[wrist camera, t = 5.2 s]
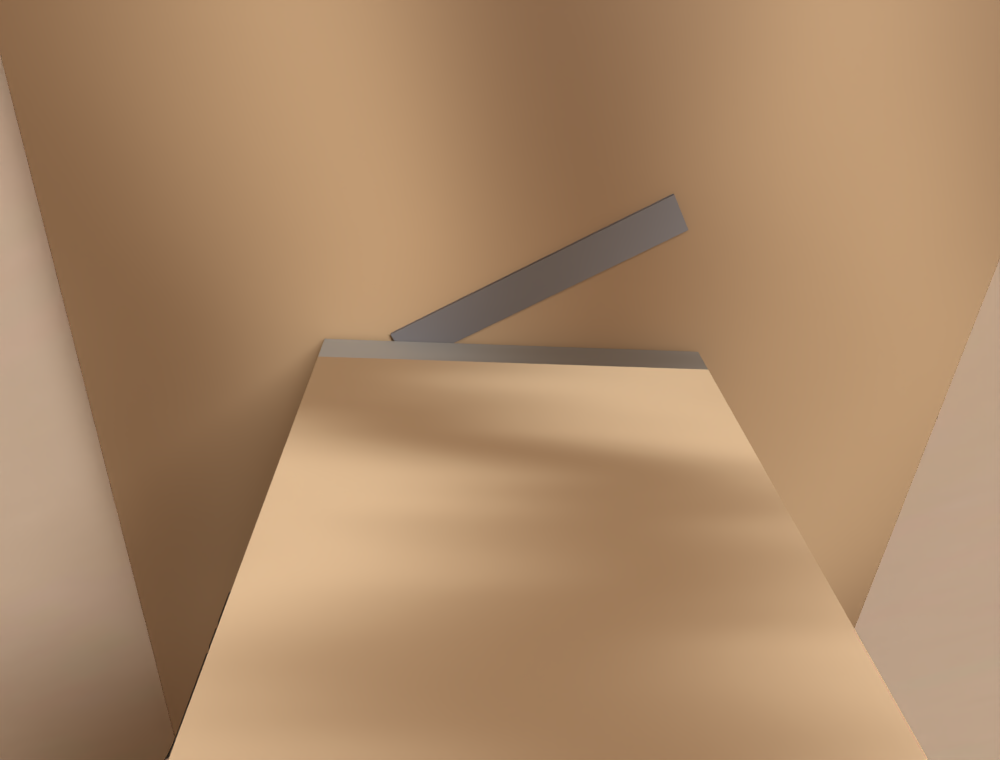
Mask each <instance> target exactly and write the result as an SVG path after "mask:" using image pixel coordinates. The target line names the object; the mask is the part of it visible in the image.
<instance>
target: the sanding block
mask: <svg viewBox="0 0 1000 760" xmlns="http://www.w3.org/2000/svg"><path fill="white" fill-rule="evenodd" d="M169 760H928V759H927V757H926V755H925V753H924V752H923V750H922V748H921V746H920V744H919V743H918V741H917V739H916V737H915V736H914V734H913V732H912V730H911V728H910V727H909V725H908V723H907V721H906V720H905V718H904V716H903V714H902V713H901V711H900V709H899V707H898V705H897V704H896V702H895V700H894V698H893V697H892V695H891V693H890V691H889V689H888V688H887V686H886V684H885V682H884V681H883V679H882V677H881V675H880V673H879V672H878V670H877V668H876V666H875V665H874V663H873V661H872V659H871V658H870V656H869V654H868V652H867V650H866V649H865V647H864V645H863V643H862V642H861V640H860V638H859V636H858V634H857V633H856V631H855V629H854V627H853V626H852V624H851V622H850V620H849V618H848V617H847V615H846V613H845V611H844V610H843V608H842V606H841V604H840V603H839V601H838V599H837V597H836V595H835V594H834V592H833V590H832V588H831V587H830V585H829V583H828V581H827V579H826V578H825V576H824V574H823V572H822V571H821V569H820V567H819V565H818V563H817V562H816V560H815V558H814V556H813V555H812V553H811V551H810V549H809V548H808V546H807V544H806V542H805V540H804V539H803V537H802V535H801V533H800V532H799V530H798V528H797V526H796V524H795V523H794V521H793V519H792V517H791V516H790V514H789V512H788V510H787V508H786V507H785V505H784V503H783V501H782V500H781V498H780V496H779V494H778V493H777V491H776V489H775V487H774V485H773V484H772V482H771V480H770V478H769V477H768V475H767V473H766V471H765V469H764V468H763V466H762V464H761V462H760V461H759V459H758V457H757V455H756V453H755V452H754V450H753V448H752V446H751V445H750V443H749V441H748V439H747V438H746V436H745V434H744V432H743V430H742V429H741V427H740V425H739V423H738V422H737V420H736V418H735V416H734V414H733V413H732V411H731V409H730V407H729V406H728V404H727V402H726V400H725V398H724V397H723V395H722V393H721V391H720V390H719V388H718V386H717V384H716V383H715V381H714V379H713V377H712V375H711V374H710V372H709V370H708V368H707V367H706V365H705V363H704V361H703V359H702V358H701V356H700V354H699V352H691V351H662V350H633V349H605V348H576V347H547V346H519V345H490V344H462V343H433V342H404V341H376V340H347V339H324V342H323V345H322V347H321V350H320V353H319V355H318V358H317V361H316V363H315V366H314V369H313V372H312V374H311V377H310V380H309V382H308V385H307V388H306V390H305V393H304V396H303V398H302V401H301V404H300V407H299V409H298V412H297V415H296V417H295V420H294V423H293V425H292V428H291V431H290V434H289V436H288V439H287V442H286V444H285V447H284V450H283V452H282V455H281V458H280V460H279V463H278V466H277V469H276V471H275V474H274V477H273V479H272V482H271V485H270V487H269V490H268V493H267V496H266V498H265V501H264V504H263V506H262V509H261V512H260V514H259V517H258V520H257V522H256V525H255V528H254V531H253V533H252V536H251V539H250V541H249V544H248V547H247V549H246V552H245V555H244V557H243V560H242V563H241V566H240V568H239V571H238V574H237V576H236V579H235V582H234V584H233V587H232V590H231V593H230V595H229V598H228V601H227V603H226V606H225V609H224V611H223V614H222V617H221V619H220V622H219V625H218V628H217V630H216V633H215V636H214V638H213V641H212V644H211V646H210V649H209V652H208V655H207V657H206V660H205V663H204V665H203V668H202V671H201V673H200V676H199V679H198V681H197V684H196V687H195V690H194V692H193V695H192V698H191V700H190V703H189V706H188V708H187V711H186V714H185V717H184V719H183V722H182V725H181V727H180V730H179V733H178V735H177V738H176V741H175V743H174V746H173V749H172V752H171V754H170V757H169Z"/></svg>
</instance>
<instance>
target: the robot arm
mask: <svg viewBox="0 0 1000 760" xmlns="http://www.w3.org/2000/svg"><path fill="white" fill-rule="evenodd" d="M230 593H231V591H230V592H229V593H228V596H227V599H226V601H225V604H224V607H223V609H222V612H221V615H220V618H219V620H218V625H219V622H220V619H221V617H222V614H223V611H224V609H225V606H226V603H227V601H228V598H229V595H230ZM217 628H218V627H217ZM217 628H215V631H214V634H213V636H212V639H211V642H210V645H209V649H210V646H211V644H212V641H213V638H214V636H215V633H216V630H217ZM208 652H209V651H208ZM207 655H208V653H206V655H205V658H204V661H203V664H202V666H201V669H200V672H199V674H198V677H197V680H196V682H195V685H194V688H193V691H192V693H191V696H190V699H189V701H188V704H187V707H186V710H185V712H184V715H183V718H182V720H181V723H180V726H179V728H178V731H177V734H176V737H175V739H174V742H173V744H172V747H171V749H170V751H169V753H168V755H167V757H166V758H165V760H169V757H170V754H171V752H172V749H173V746H174V743H175V741H176V738H177V735H178V733H179V730H180V727H181V725H182V722H183V719H184V717H185V714H186V711H187V708H188V706H189V703H190V700H191V698H192V695H193V692H194V690H195V687H196V684H197V681H198V679H199V676H200V673H201V671H202V668H203V665H204V663H205V660H206V657H207Z"/></svg>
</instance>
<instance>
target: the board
mask: <svg viewBox="0 0 1000 760" xmlns="http://www.w3.org/2000/svg"><path fill="white" fill-rule="evenodd" d="M0 55H1V59H2V63H3V66H4V70H5V74H6V78H7V82H8V86H9V90H10V94H11V98H12V102H13V106H14V110H15V113H16V117H17V121H18V125H19V129H20V133H21V137H22V141H23V145H24V149H25V153H26V157H27V160H28V164H29V168H30V172H31V176H32V180H33V184H34V188H35V192H36V196H37V200H38V204H39V207H40V211H41V215H42V219H43V223H44V227H45V231H46V235H47V239H48V243H49V247H50V250H51V254H52V258H53V262H54V266H55V270H56V274H57V278H58V282H59V286H60V290H61V294H62V297H63V301H64V305H65V309H66V313H67V317H68V321H69V325H70V329H71V333H72V337H73V341H74V344H75V348H76V352H77V356H78V360H79V364H80V368H81V372H82V376H83V380H84V384H85V387H86V391H87V395H88V399H89V403H90V407H91V411H92V415H93V419H94V423H95V427H96V431H97V434H98V438H99V442H100V446H101V450H102V454H103V458H104V462H105V466H106V470H107V474H108V478H109V481H110V485H111V489H112V493H113V497H114V501H115V505H116V509H117V513H118V517H119V521H120V524H121V528H122V532H123V536H124V540H125V544H126V548H127V552H128V556H129V560H130V564H131V568H132V571H133V575H134V579H135V583H136V587H137V591H138V595H139V599H140V603H141V607H142V611H143V615H144V618H145V622H146V626H147V630H148V634H149V638H150V642H151V646H152V650H153V654H154V658H155V661H156V665H157V669H158V673H159V677H160V681H161V685H162V689H163V693H164V697H165V701H166V705H167V708H168V712H169V716H170V720H171V724H172V728H173V732H174V736H175V737H176V734H177V731H178V728H179V726H180V723H181V720H182V718H183V715H184V712H185V710H186V707H187V704H188V701H189V699H190V696H191V693H192V691H193V688H194V685H195V682H196V680H197V677H198V674H199V672H200V669H201V666H202V664H203V661H204V658H205V655H206V653H208V651H209V645H210V642H211V639H212V636H213V634H214V631H215V628H217V627H218V620H219V618H220V615H221V612H222V609H223V607H224V604H225V601H226V599H227V596H228V593H229V592H230V591H231V590H232V587H233V584H234V582H235V579H236V576H237V574H238V571H239V568H240V566H241V563H242V560H243V557H244V555H245V552H246V549H247V547H248V544H249V541H250V539H251V536H252V533H253V531H254V528H255V525H256V522H257V520H258V517H259V514H260V512H261V509H262V506H263V504H264V501H265V498H266V496H267V493H268V490H269V487H270V485H271V482H272V479H273V477H274V474H275V471H276V469H277V466H278V463H279V460H280V458H281V455H282V452H283V450H284V447H285V444H286V442H287V439H288V436H289V434H290V431H291V428H292V425H293V423H294V420H295V417H296V415H297V412H298V409H299V407H300V404H301V401H302V398H303V396H304V393H305V390H306V388H307V385H308V382H309V380H310V377H311V374H312V372H313V369H314V366H315V363H316V361H317V358H318V355H319V353H320V350H321V347H322V345H323V342H324V339H347V340H376V341H404V342H433V343H462V344H490V345H519V346H547V347H576V348H605V349H633V350H662V351H691V352H699V354H700V356H701V358H702V359H703V361H704V363H705V365H706V367H707V368H708V370H709V372H710V374H711V375H712V377H713V379H714V381H715V383H716V384H717V386H718V388H719V390H720V391H721V393H722V395H723V397H724V398H725V400H726V402H727V404H728V406H729V407H730V409H731V411H732V413H733V414H734V416H735V418H736V420H737V422H738V423H739V425H740V427H741V429H742V430H743V432H744V434H745V436H746V438H747V439H748V441H749V443H750V445H751V446H752V448H753V450H754V452H755V453H756V455H757V457H758V459H759V461H760V462H761V464H762V466H763V468H764V469H765V471H766V473H767V475H768V477H769V478H770V480H771V482H772V484H773V485H774V487H775V489H776V491H777V493H778V494H779V496H780V498H781V500H782V501H783V503H784V505H785V507H786V508H787V510H788V512H789V514H790V516H791V517H792V519H793V521H794V523H795V524H796V526H797V528H798V530H799V532H800V533H801V535H802V537H803V539H804V540H805V542H806V544H807V546H808V548H809V549H810V551H811V553H812V555H813V556H814V558H815V560H816V562H817V563H818V565H819V567H820V569H821V571H822V572H823V574H824V576H825V578H826V579H827V581H828V583H829V585H830V587H831V588H832V590H833V592H834V594H835V595H836V597H837V599H838V601H839V603H840V604H841V606H842V608H843V610H844V611H845V613H846V615H847V617H848V618H849V620H850V622H851V624H852V626H853V627H854V628H855V625H856V623H857V620H858V618H859V615H860V613H861V610H862V608H863V605H864V602H865V600H866V597H867V595H868V592H869V590H870V587H871V585H872V582H873V580H874V577H875V574H876V572H877V569H878V567H879V564H880V562H881V559H882V557H883V554H884V552H885V549H886V547H887V544H888V541H889V539H890V536H891V534H892V531H893V529H894V526H895V524H896V521H897V519H898V516H899V513H900V511H901V508H902V506H903V503H904V501H905V498H906V496H907V493H908V491H909V488H910V485H911V483H912V480H913V478H914V475H915V473H916V470H917V468H918V465H919V463H920V460H921V457H922V455H923V452H924V450H925V447H926V445H927V442H928V440H929V437H930V435H931V432H932V430H933V427H934V424H935V422H936V419H937V417H938V414H939V412H940V409H941V407H942V404H943V402H944V399H945V396H946V394H947V391H948V389H949V386H950V384H951V381H952V379H953V376H954V374H955V371H956V368H957V366H958V363H959V361H960V358H961V356H962V353H963V351H964V348H965V346H966V343H967V341H968V338H969V335H970V333H971V330H972V328H973V325H974V323H975V320H976V318H977V315H978V313H979V310H980V307H981V305H982V302H983V300H984V297H985V295H986V292H987V290H988V287H989V285H990V282H991V279H992V277H993V274H994V272H995V269H996V267H997V264H998V262H999V259H1000V0H0Z"/></svg>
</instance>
